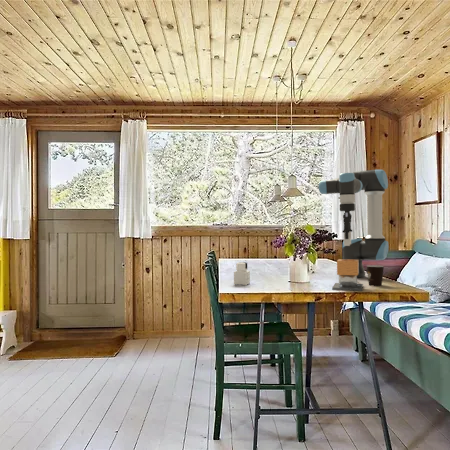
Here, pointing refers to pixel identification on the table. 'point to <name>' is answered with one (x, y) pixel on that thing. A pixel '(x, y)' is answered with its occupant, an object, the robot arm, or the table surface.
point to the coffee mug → (375, 275)
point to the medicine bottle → (241, 274)
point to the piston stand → (347, 283)
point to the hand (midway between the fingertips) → (347, 245)
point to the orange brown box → (347, 267)
